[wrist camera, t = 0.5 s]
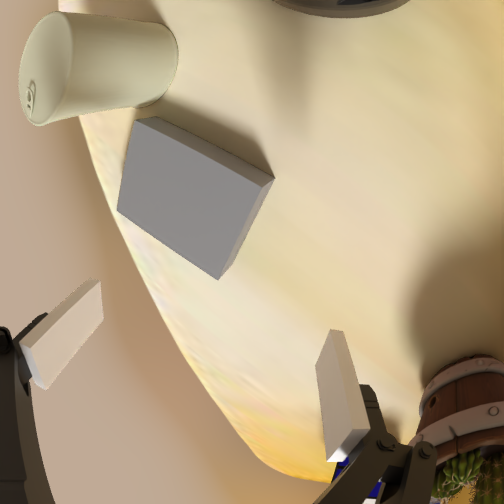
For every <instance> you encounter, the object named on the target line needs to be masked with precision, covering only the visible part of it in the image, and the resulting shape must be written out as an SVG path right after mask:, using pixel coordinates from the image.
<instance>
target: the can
mask: <svg viewBox="0 0 504 504" xmlns="http://www.w3.org/2000/svg"><path fill="white" fill-rule="evenodd" d="M177 64H178V48H177V43H176V40H175V38H174V36H173V34H172V33H171V31H170V30H169V29H168V28H166V27H165V26H163V25H161V24H159V23H155V22H142V21H136V20H130V19H123V18H116V17H109V16H101V15H91V14H81V13H68V12H61V11H55V12H51V13H49V14H47V15H46V16H44V17H43V18H42V19H41V21H39V22H38V24H37V25H36V26H35V28H34V29H33V31H32V33H31V34H30V36H29V38H28V40H27V43H26V45H25V48H24V52H23V55H22V59H21V63H20V70H19V96H20V102H21V105H22V109H23V111H24V114H25V116H26V117H27V119H28V120H29V121H30V122H31V123H32V124H34V125H36V126H43V125H46V124H48V123H50V122H54V121H57V120H62V119H66V118H69V117H74V116H79V115H83V114H88V113H94V112H100V111H106V110H112V109H119V108H128V107H133V108H140V107H145V106H148V105H150V104H152V103H154V102H155V101H157V100H158V99H159V98H160V97H161V96H162V95H163V94H164V93H165V92H166V90H167V89H168V87H169V86H170V84H171V82H172V80H173V78H174V75H175V73H176V69H177Z"/></svg>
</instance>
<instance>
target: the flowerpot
mask: <svg viewBox="0 0 504 504" xmlns="http://www.w3.org/2000/svg"><path fill="white" fill-rule="evenodd" d="M419 415H420V417H421V420H420V423H419V426H418V429H417V432H416V436H415V437H414V438H413V439H412V440H411V441H410V442H409V444H408V446H413V447H414V446H415V445H416V444H417V443H418V442H420V441H427V442H429V443H432V444H433V445H434V446H435V448H436V450H437V463H436V470H435V477H434V483H433V489H432V494H431V497H434V498H437V499H438V500H437V501H438V503H439V501H441V500H442V499H443V500H444V502H443V504H447V503H448V502H447V503H446V502H445V499H446V498H447V499H448V498H449V497H450V498H451V497H452V498H453V495H455V494H456V493H458V492H459V491H460V490H462V487H463V486H464V485H465V486H466V485H467V484H471V483H473V482H475V481H476V480H477V478H478V480H477V481H476V482H477V483H476V485H475V483H474V485H475V486H474V487H472V489H474V488H475V490H476V491H475V493H476V494H475V493H474V494H475V497H474V500H473V501H472V502H471V501H470V502H471V503H472V504H504V364H503V363H502V362H500V361H498V360H496V359H495V358H492V356H489V355H479V354H477V355H475V356H474V357H473V358H469V357H464V358H462V359H460V360H458V361H457V362H456V364H449V365H447V366H445V367H444V368H443V369H441V370H440V371H439V372H438V373H437V374H436V375H435V376H434V377H433V378H432V380H431V381H430V383H429V384H428V385H427V387H426V388H425V390H424V393H423V395H422V399H421V402H420V406H419ZM471 486H473V485H472V484H471ZM468 488H469V487H468ZM472 493H473V492H472ZM474 494H473V495H474ZM450 498H449V499H448V500H450ZM439 499H441V500H439ZM430 500H431V499H430ZM448 500H446V501H448ZM431 501H432V500H431ZM437 501H436V502H435V503H437ZM432 502H433V501H432ZM432 502H431V503H432ZM471 503H470V504H471ZM433 504H434V503H433Z"/></svg>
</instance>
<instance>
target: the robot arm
mask: <svg viewBox="0 0 504 504" xmlns="http://www.w3.org/2000/svg"><path fill="white" fill-rule="evenodd" d="M273 1H274V2H276V3H278V4H280V5H282V6H285V7H287V8H290V9H293V10H295V11H299V12H302V13H306V14H310V15H315V16H322V17H330V18H359V17H367V16H373V15H378V14H382V13H385V12H388V11H391V10H393V9H396V8H398V7H400V6H402V5H403V4H405V3H407V2H408V1H409V0H273ZM103 320H104V316H103V308H102V297H101V284H100V281H99V280H96V279H92V278H89V279H88V280H87V281H86V282H84V283H83V284H82V285H81V286H80V287H78V288H77V289H76V290H75V291H74V292H73V293H71V294H70V295H69V296H68V297H67V298H66V299H65V300H64V301H62V302H61V303H60V304H59V305H58V306H57V307H56V308H55V309H54V310H53V311H51V312H50V313H49V314H48V313H44V314H42V315H39V316H37V317H36V318H35V319H34V320H33V321H32V323H30V324H29V325H28V326H27V327H25V328H24V329H23V330H22V331H21V332H20V333H19V334H18V335H17V336H16V337H15V338H14V339H13V340H12V337H11V334H10V331H9V330H8V329H7V328H6V327H0V504H55V501H54V499H53V496H52V493H51V490H50V486H49V483H48V480H47V476H46V473H45V469H44V465H43V461H42V457H41V452H40V448H39V443H38V438H37V433H36V427H35V421H34V414H33V406H32V397H31V388H30V382H29V379H30V378H31V377H33V379H34V382H35V384H36V385H38V386H39V387H41V388H43V389H45V390H47V389H48V388H49V387H50V385H51V384H52V382H53V381H54V380H55V379H56V377H57V376H58V375H59V374H60V372H61V371H62V370H63V369H64V367H65V366H66V365H67V363H68V362H69V361H70V360H71V358H72V357H73V356H74V355H75V353H76V352H77V351H78V350H79V348H80V347H81V346H82V345H83V344H84V342H85V341H86V340H87V339H88V338H89V336H90V335H91V334H92V333H93V332H94V330H95V329H96V328H97V327H98V326H99V325H100V323H101V322H102V321H103ZM315 367H316V374H317V382H318V389H319V397H320V405H321V413H322V421H323V430H324V439H325V449H326V459H327V462H343V461H344V460H345V459H346V457H347V456H348V457H349V464H348V465H347V466H346V467H345V468H344V469H343V470H342V471H341V473H340V474H339V475H338V476H337V478H336V479H335V480H334V481H333V482H332V483H331V485H330V486H329V487H328V488H327V489H326V490H325V491H324V492H323V493H322V494H321V496H319V498H318V499H317V500H316V501H315V502H314V503H313V504H363V503H364V501H365V500H366V498H367V497H368V496H369V494H370V493H371V491H372V490H373V488H374V487H375V486H376V484H377V483H378V482H382V484H381V487H380V490H379V493H378V496H377V499H376V501H375V504H430V499H431V494H432V489H433V483H434V477H435V470H436V463H437V450H436V448H435V446H434V445H433V444H432V443H429V442H427V441H420V442H418V443H417V444H416V445H415V446H414V447H413V446H408V445H403V444H400V443H398V442H397V440H396V439H395V437H393V436H392V435H391V434H389V433H387V431H386V427H385V424H384V420H383V417H382V414H381V410H380V409H379V404H378V402H377V401H378V400H377V397H376V394H375V392H374V391H373V389H372V388H371V387H370V386H369V385H362V384H359V383H358V379H357V376H356V372H355V369H354V365H353V362H352V359H351V355H350V352H349V349H348V345H347V342H346V339H345V336H344V332H343V331H339V330H331V329H330V331H329V334H328V336H327V339H326V341H325V344H324V346H323V349H322V351H321V353H320V356H319V358H318V361H317V363H316V365H315Z"/></svg>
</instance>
